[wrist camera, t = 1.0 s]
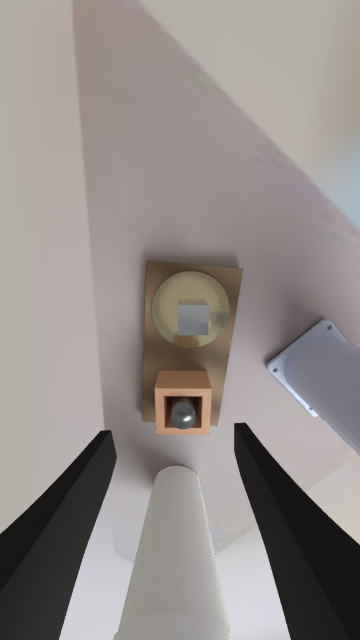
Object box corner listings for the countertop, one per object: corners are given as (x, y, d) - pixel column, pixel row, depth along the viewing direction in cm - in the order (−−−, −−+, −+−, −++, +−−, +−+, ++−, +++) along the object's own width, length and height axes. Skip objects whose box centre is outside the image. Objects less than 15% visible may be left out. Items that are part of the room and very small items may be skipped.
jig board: (215, 419, 21) (217, 426, 20) (143, 414, 21) (141, 420, 20) (239, 269, 16) (243, 268, 15) (148, 261, 16) (146, 260, 15)
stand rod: (196, 391, 19) (200, 419, 15) (182, 403, 19) (183, 433, 15) (182, 379, 18) (183, 404, 14) (168, 391, 19) (166, 419, 15)
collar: (206, 371, 18) (211, 388, 15) (204, 411, 19) (209, 434, 16) (159, 370, 18) (154, 388, 15) (160, 410, 19) (156, 434, 16)
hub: (231, 271, 15) (247, 268, 12) (226, 347, 17) (238, 365, 14) (150, 271, 15) (141, 268, 12) (153, 346, 17) (146, 365, 14)
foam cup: (188, 513, 25) (196, 757, 12) (132, 491, 24) (78, 732, 11) (222, 472, 23) (275, 712, 10) (163, 446, 22) (140, 678, 9)
